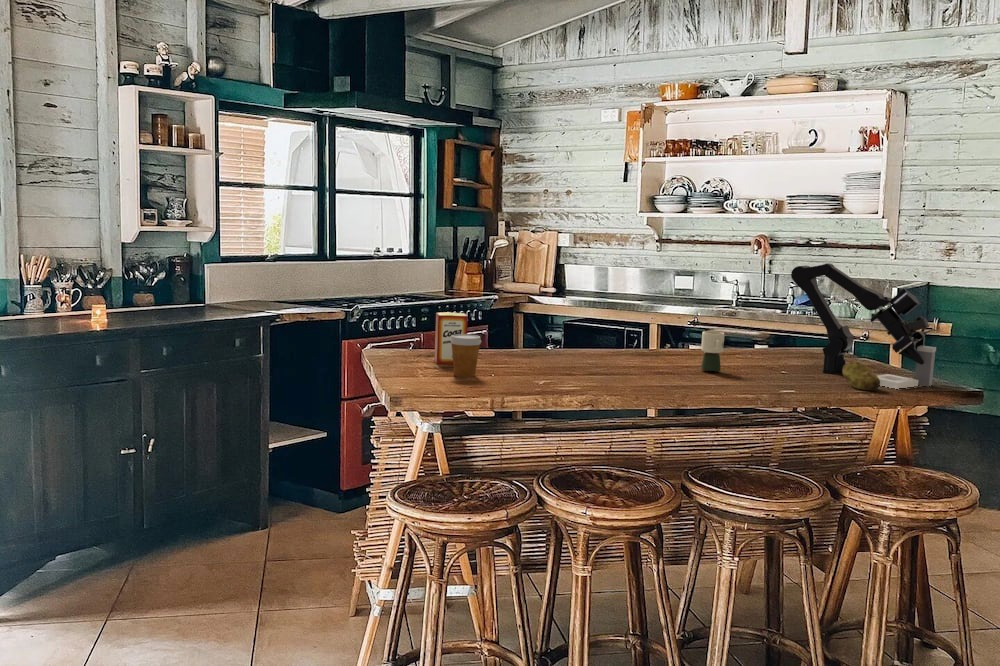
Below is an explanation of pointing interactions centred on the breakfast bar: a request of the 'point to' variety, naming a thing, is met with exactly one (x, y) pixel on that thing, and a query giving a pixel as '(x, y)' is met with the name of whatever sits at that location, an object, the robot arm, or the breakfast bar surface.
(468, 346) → the disposable coffee cup
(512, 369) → the breakfast bar surface
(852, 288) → the robot arm
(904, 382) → the socket
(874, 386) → the potato
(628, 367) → the breakfast bar surface
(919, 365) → the grey tall block
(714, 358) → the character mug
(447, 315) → the baking soda box
